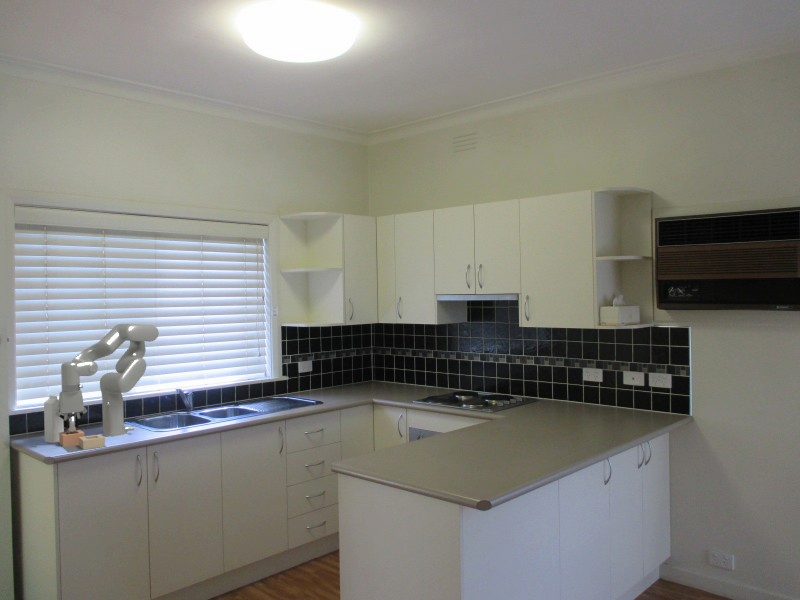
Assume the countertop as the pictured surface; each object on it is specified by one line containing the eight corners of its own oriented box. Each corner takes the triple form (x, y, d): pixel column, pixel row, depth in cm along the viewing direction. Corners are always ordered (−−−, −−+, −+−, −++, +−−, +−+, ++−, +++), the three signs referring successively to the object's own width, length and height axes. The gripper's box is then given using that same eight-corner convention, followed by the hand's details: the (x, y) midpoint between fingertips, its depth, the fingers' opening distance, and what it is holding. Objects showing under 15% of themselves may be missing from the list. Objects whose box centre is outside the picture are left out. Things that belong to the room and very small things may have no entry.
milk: (56, 439, 322) (55, 394, 322) (64, 440, 319) (63, 395, 319) (44, 442, 317) (43, 396, 316) (52, 443, 314) (51, 396, 314)
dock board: (94, 440, 319) (94, 427, 318) (106, 449, 300) (106, 435, 299) (57, 445, 309) (57, 432, 309) (68, 455, 290) (67, 441, 290)
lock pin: (76, 438, 310) (75, 410, 310) (78, 439, 307) (77, 412, 306) (65, 439, 307) (65, 411, 307) (67, 441, 304) (67, 413, 304)
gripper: (88, 385, 315) (89, 424, 315) (49, 389, 305) (50, 429, 305) (91, 387, 309) (92, 426, 309) (52, 391, 299) (53, 431, 299)
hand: (71, 427), depth 307 cm, fingers open, 3 cm apart
